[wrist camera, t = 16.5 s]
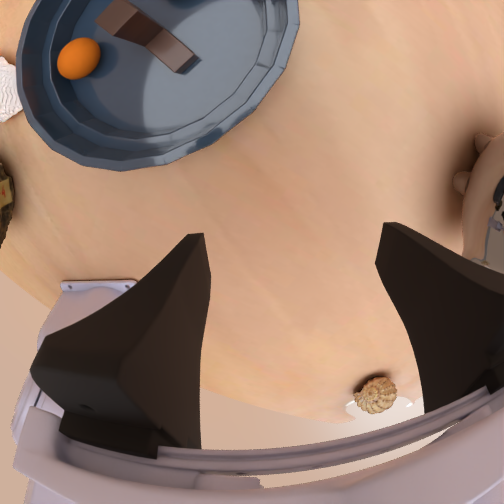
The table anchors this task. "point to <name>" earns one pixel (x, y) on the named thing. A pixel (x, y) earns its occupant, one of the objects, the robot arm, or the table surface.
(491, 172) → the piggy bank
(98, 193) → the table surface
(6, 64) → the pincushion
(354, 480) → the robot arm
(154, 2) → the bowl
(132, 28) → the brown t-shaped block
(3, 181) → the rock
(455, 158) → the table surface
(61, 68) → the bead
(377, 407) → the seashell
